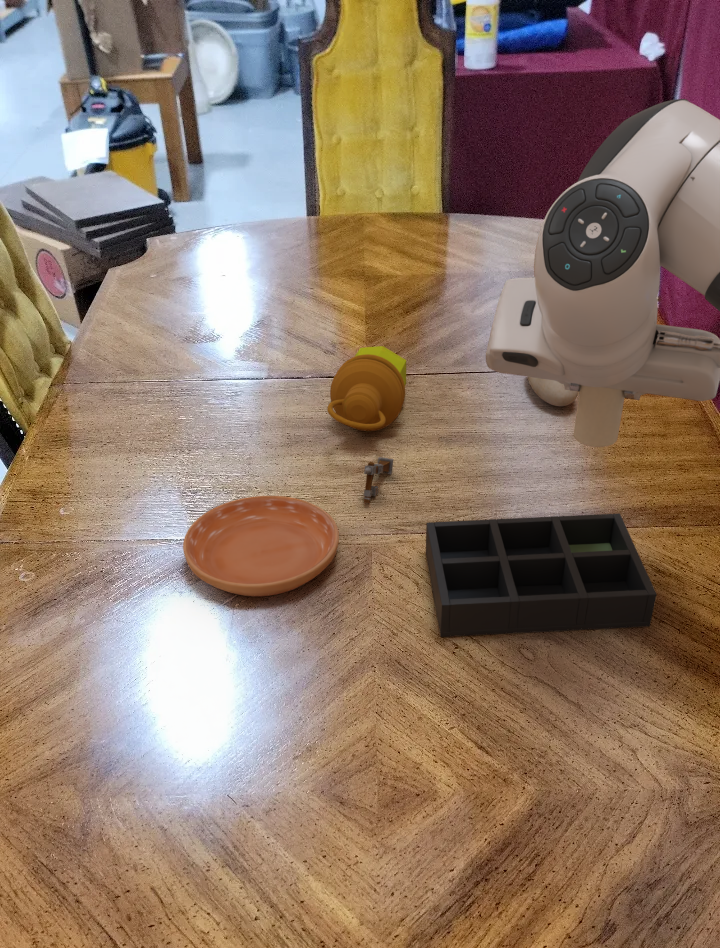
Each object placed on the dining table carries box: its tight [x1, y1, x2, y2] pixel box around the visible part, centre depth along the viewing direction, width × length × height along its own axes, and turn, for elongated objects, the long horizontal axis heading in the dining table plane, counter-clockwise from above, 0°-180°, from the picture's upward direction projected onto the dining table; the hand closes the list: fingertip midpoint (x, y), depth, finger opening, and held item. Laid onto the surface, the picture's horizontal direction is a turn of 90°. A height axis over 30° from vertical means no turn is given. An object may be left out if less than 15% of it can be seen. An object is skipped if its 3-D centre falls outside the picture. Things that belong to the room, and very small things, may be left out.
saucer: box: [182, 495, 340, 597], centre depth 103 cm, size 16×16×3 cm
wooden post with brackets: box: [363, 456, 394, 504], centre depth 113 cm, size 2×8×4 cm, turn 163°
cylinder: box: [573, 385, 625, 448], centre depth 93 cm, size 4×4×9 cm
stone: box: [526, 377, 579, 407], centre depth 129 cm, size 6×6×12 cm
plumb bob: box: [327, 345, 407, 432], centre depth 123 cm, size 9×9×25 cm
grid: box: [425, 512, 658, 638], centre depth 98 cm, size 20×14×4 cm
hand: (603, 387), depth 93 cm, fingers closed on cylinder, 4 cm apart
